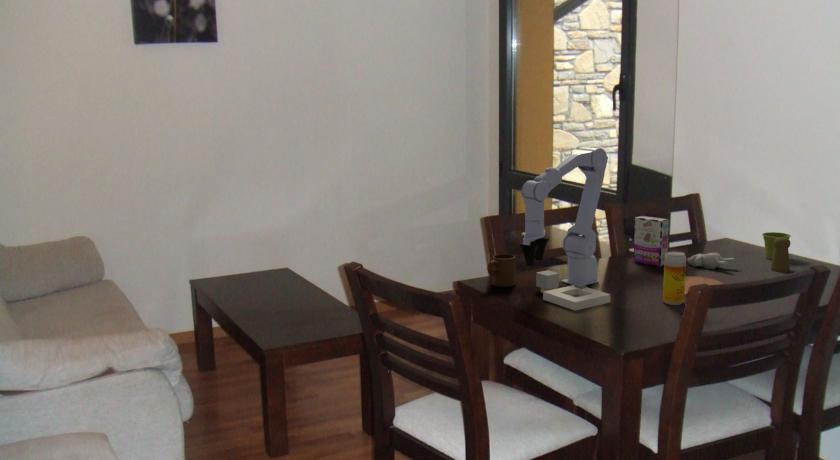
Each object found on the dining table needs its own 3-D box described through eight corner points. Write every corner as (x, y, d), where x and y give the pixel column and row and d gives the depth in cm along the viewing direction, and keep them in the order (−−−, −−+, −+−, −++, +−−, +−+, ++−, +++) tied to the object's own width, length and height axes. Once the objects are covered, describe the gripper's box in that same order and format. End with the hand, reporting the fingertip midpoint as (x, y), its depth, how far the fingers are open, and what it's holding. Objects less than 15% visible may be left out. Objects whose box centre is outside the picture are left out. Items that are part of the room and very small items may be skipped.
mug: (497, 291, 260) (497, 262, 258) (479, 287, 265) (478, 259, 263) (520, 284, 268) (520, 255, 266) (501, 280, 273) (501, 252, 272)
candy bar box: (668, 264, 290) (670, 218, 286) (660, 267, 286) (662, 221, 283) (640, 259, 298) (642, 215, 294) (632, 262, 294) (634, 216, 291)
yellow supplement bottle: (680, 306, 241) (683, 256, 238) (660, 303, 244) (662, 254, 241) (686, 301, 246) (688, 252, 243) (665, 298, 249) (668, 250, 246)
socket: (577, 292, 258) (577, 281, 257) (609, 302, 246) (610, 291, 246) (543, 299, 251) (543, 289, 250) (575, 310, 239) (575, 299, 238)
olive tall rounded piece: (770, 271, 279) (772, 239, 276) (770, 267, 284) (772, 235, 282) (790, 272, 276) (792, 240, 274) (789, 268, 282) (791, 236, 280)
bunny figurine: (696, 250, 293) (737, 252, 282) (697, 264, 293) (738, 266, 283) (683, 255, 286) (724, 257, 276) (684, 269, 287) (725, 272, 276)
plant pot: (754, 257, 298) (756, 233, 297) (773, 254, 302) (775, 231, 300) (775, 262, 290) (777, 238, 288) (794, 259, 294) (796, 235, 292)
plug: (548, 288, 263) (548, 270, 261) (558, 291, 258) (559, 273, 257) (536, 290, 260) (536, 272, 259) (546, 294, 256) (547, 275, 255)
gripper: (530, 214, 261) (530, 256, 264) (513, 223, 248) (513, 267, 251) (552, 216, 257) (551, 258, 260) (535, 225, 245) (535, 269, 248)
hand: (534, 262), depth 255 cm, fingers open, 7 cm apart
